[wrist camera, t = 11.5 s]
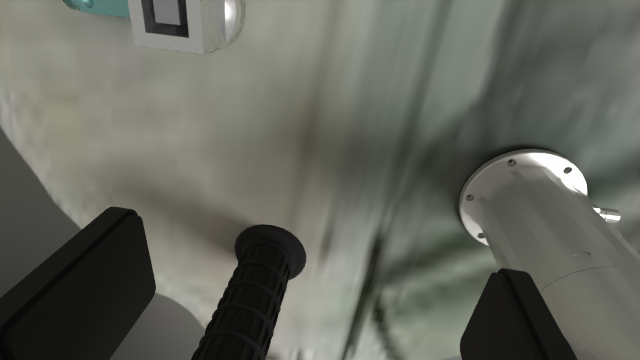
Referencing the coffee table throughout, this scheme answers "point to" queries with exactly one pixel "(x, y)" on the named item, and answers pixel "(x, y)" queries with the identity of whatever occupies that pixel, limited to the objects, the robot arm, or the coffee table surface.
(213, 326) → the handle grip
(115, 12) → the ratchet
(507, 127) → the coffee table surface
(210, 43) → the hollow white cube
